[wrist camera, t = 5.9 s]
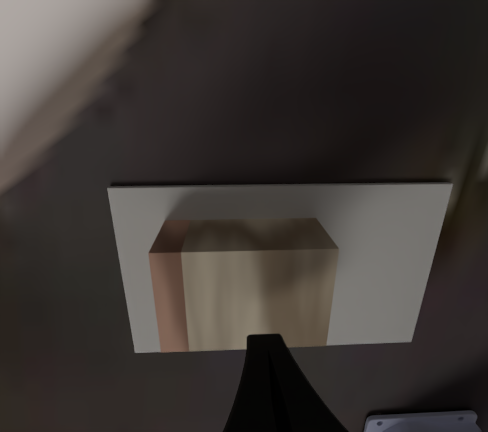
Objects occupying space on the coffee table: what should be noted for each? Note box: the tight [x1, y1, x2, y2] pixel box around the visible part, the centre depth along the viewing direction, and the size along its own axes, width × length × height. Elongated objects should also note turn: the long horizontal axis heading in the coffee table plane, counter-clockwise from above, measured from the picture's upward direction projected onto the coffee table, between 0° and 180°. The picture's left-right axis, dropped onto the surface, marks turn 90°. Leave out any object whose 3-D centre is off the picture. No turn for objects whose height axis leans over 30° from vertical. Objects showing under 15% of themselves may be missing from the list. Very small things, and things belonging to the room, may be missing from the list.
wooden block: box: [148, 218, 339, 352], centre depth 17 cm, size 4×6×9 cm
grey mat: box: [107, 182, 453, 353], centre depth 20 cm, size 20×12×1 cm, turn 90°
